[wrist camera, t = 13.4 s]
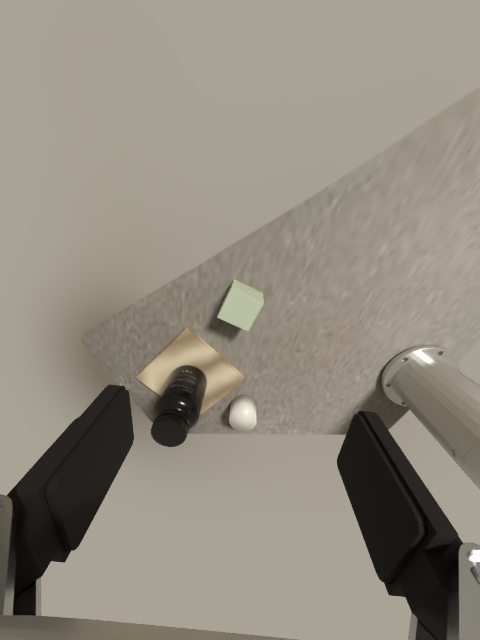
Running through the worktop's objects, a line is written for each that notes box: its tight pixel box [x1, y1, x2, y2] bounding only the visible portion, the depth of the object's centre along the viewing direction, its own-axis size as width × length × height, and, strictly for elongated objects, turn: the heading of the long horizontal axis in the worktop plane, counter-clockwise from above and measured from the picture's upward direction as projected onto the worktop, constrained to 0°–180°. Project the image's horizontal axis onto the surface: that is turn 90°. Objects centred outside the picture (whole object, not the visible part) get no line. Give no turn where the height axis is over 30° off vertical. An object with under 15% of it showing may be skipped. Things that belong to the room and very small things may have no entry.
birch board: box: [136, 326, 244, 415], centre depth 42 cm, size 14×14×2 cm
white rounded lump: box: [229, 395, 256, 431], centre depth 44 cm, size 5×5×4 cm
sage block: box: [217, 279, 264, 331], centre depth 35 cm, size 5×5×5 cm
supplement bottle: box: [151, 365, 207, 447], centre depth 36 cm, size 7×7×12 cm
